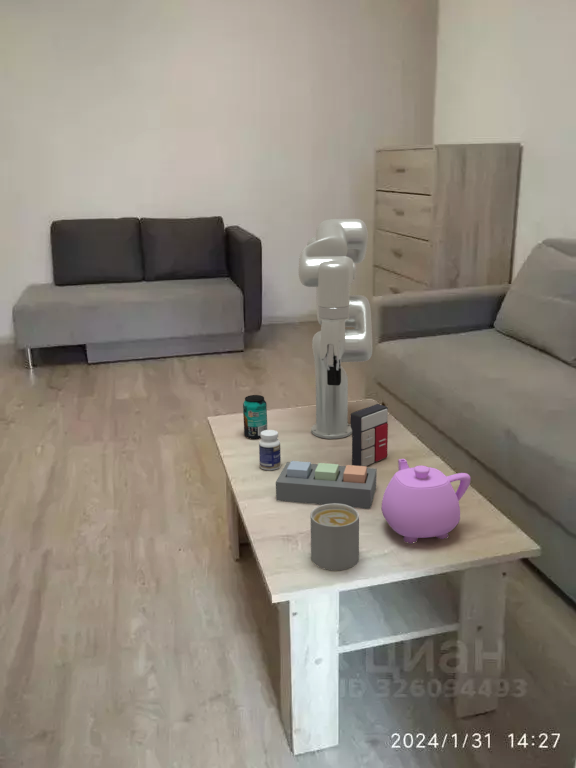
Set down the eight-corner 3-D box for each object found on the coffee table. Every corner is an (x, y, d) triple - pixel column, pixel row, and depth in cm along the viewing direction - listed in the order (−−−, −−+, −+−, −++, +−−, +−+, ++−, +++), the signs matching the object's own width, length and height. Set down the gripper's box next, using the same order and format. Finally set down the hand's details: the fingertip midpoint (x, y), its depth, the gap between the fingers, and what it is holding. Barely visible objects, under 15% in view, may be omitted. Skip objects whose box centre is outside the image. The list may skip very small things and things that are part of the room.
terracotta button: (346, 483, 176) (346, 464, 175) (366, 484, 175) (366, 466, 174) (343, 492, 172) (343, 473, 170) (364, 494, 171) (364, 475, 169)
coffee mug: (366, 565, 145) (366, 521, 142) (320, 574, 142) (319, 530, 139) (342, 534, 157) (342, 493, 154) (299, 541, 154) (298, 500, 151)
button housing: (287, 479, 184) (287, 461, 182) (376, 486, 179) (376, 468, 177) (276, 500, 173) (275, 482, 171) (370, 508, 168) (370, 489, 166)
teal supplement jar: (249, 430, 218) (248, 393, 214) (270, 432, 216) (269, 395, 212) (240, 438, 212) (238, 400, 208) (262, 441, 209) (260, 402, 206)
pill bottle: (278, 471, 189) (277, 437, 186) (257, 470, 190) (256, 435, 187) (282, 463, 194) (281, 429, 191) (262, 461, 195) (261, 428, 192)
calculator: (361, 470, 188) (362, 417, 184) (350, 465, 192) (350, 413, 187) (389, 458, 195) (390, 407, 191) (377, 453, 198) (378, 403, 194)
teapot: (444, 499, 171) (447, 441, 167) (483, 540, 153) (488, 477, 148) (367, 509, 168) (367, 450, 163) (397, 553, 149) (399, 488, 144)
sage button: (319, 481, 178) (318, 462, 176) (338, 482, 177) (338, 464, 175) (315, 489, 173) (314, 471, 172) (335, 491, 172) (335, 472, 171)
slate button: (291, 478, 180) (291, 460, 178) (311, 480, 178) (310, 462, 177) (287, 487, 175) (286, 469, 173) (307, 489, 174) (306, 470, 172)
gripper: (324, 306, 180) (325, 374, 186) (312, 318, 166) (313, 392, 172) (353, 306, 179) (353, 376, 184) (344, 319, 165) (344, 394, 170)
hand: (334, 384), depth 178 cm, fingers closed
